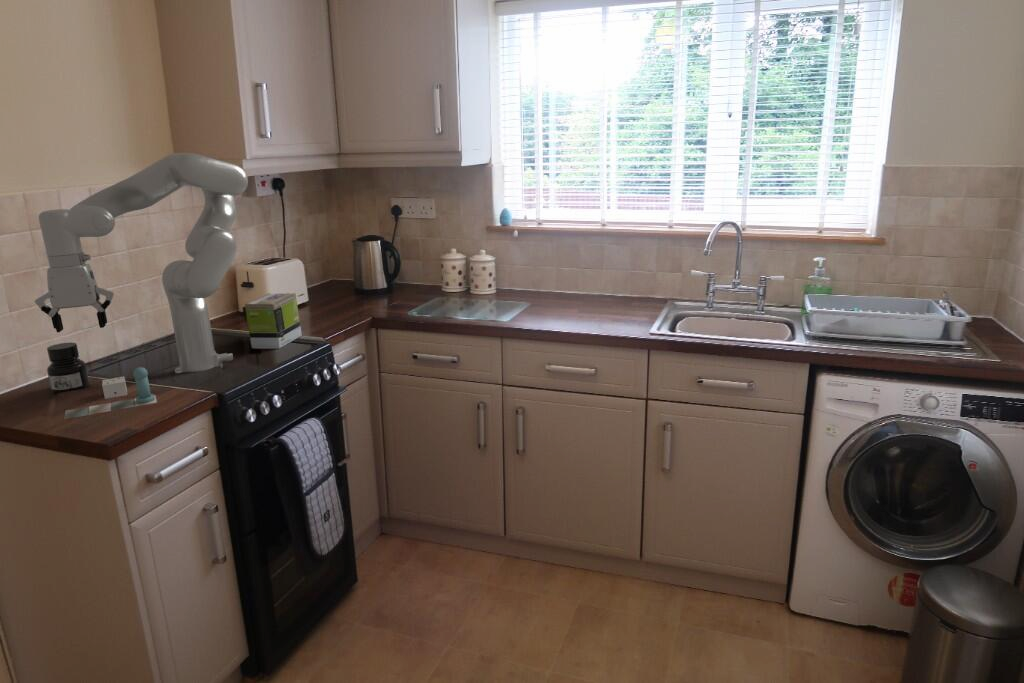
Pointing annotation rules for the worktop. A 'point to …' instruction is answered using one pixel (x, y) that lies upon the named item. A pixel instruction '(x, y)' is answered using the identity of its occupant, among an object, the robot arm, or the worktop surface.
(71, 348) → the ink bottle
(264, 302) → the tea box
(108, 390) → the die
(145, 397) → the pawn
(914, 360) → the worktop surface
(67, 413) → the board
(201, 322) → the robot arm
